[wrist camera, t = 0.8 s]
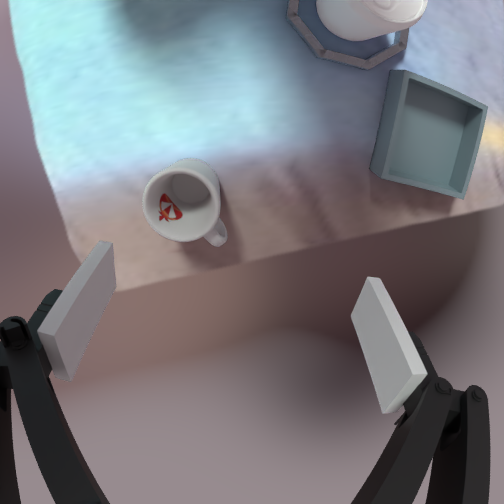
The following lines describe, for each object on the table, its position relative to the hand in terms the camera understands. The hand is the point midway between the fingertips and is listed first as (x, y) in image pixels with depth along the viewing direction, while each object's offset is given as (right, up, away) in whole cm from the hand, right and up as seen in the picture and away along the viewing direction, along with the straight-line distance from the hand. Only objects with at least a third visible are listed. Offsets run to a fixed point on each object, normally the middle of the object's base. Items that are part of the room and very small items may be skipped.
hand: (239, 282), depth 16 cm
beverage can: (+12, +29, +12) cm, 33 cm away
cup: (-6, +9, +23) cm, 25 cm away
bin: (+22, +17, +18) cm, 33 cm away
